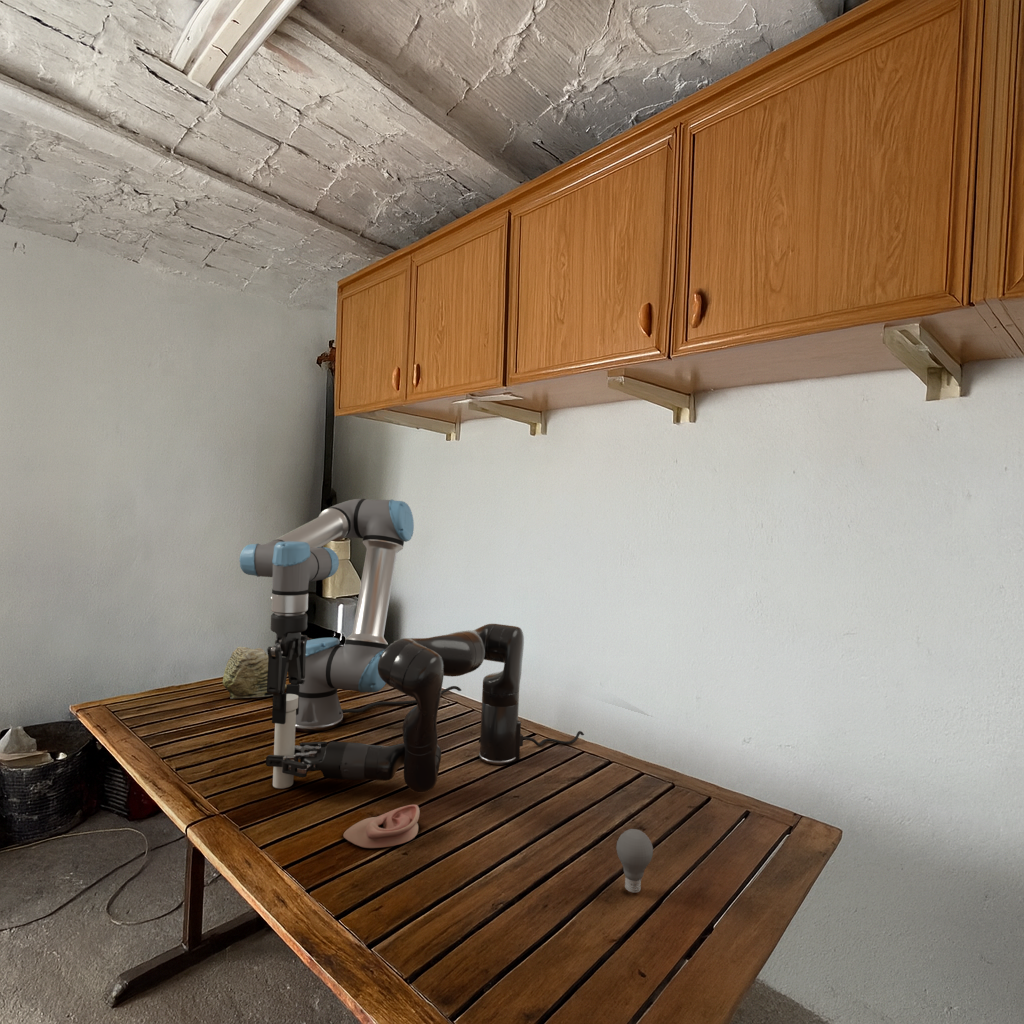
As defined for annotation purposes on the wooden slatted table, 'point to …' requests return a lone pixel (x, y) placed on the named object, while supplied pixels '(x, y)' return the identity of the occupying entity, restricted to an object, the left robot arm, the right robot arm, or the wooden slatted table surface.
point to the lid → (291, 702)
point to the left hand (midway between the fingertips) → (285, 718)
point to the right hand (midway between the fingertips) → (271, 755)
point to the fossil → (247, 673)
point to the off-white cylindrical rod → (284, 748)
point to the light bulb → (634, 857)
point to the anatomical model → (385, 828)
